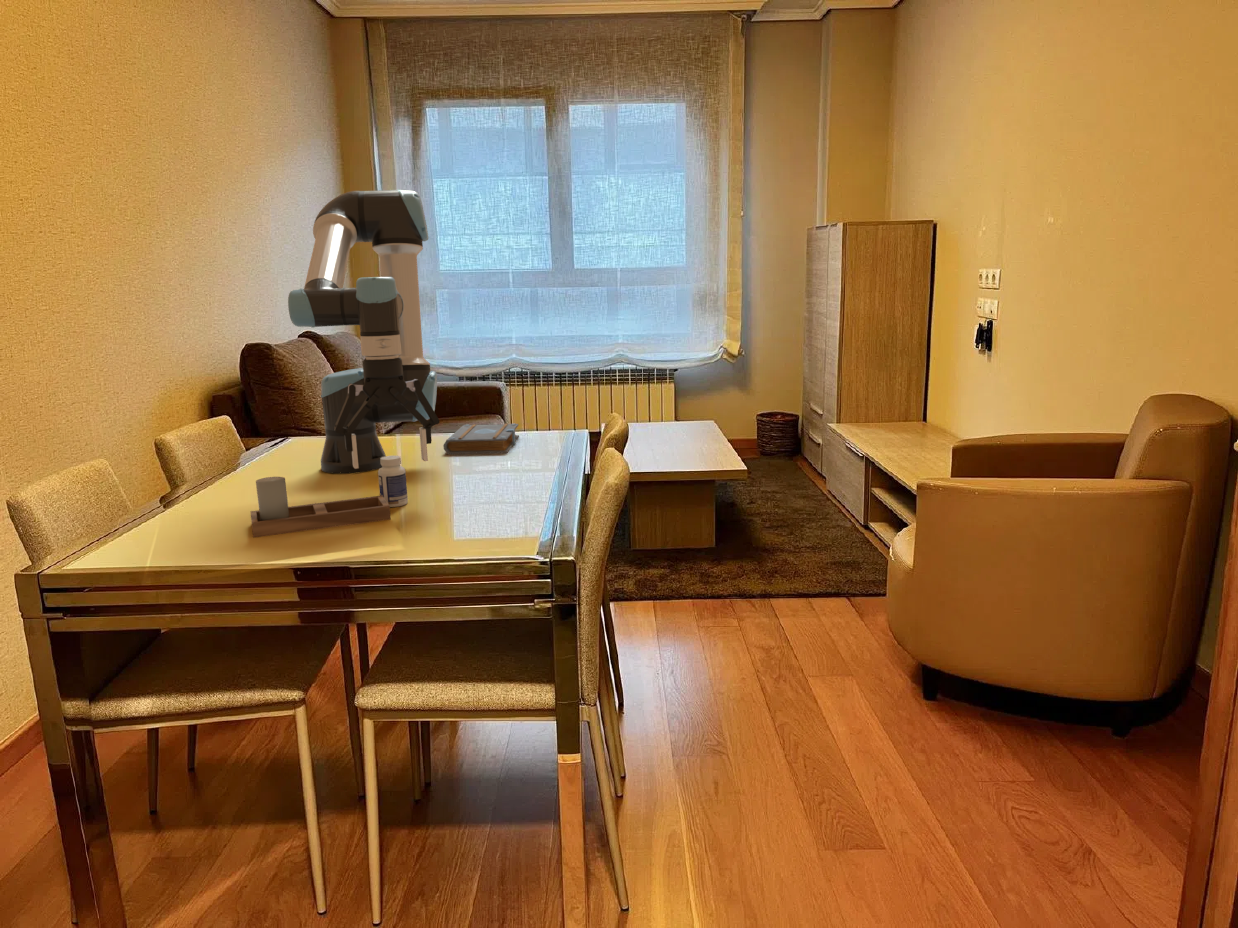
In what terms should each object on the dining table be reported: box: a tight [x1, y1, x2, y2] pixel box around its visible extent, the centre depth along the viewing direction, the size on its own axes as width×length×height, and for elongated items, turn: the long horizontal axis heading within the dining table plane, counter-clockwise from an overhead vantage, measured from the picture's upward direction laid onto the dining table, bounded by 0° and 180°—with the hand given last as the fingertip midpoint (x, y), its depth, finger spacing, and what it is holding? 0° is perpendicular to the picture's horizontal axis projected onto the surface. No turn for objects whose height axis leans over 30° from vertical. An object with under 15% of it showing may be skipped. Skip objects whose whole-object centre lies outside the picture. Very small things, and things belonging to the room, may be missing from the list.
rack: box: [250, 495, 392, 538], centre depth 171 cm, size 9×24×4 cm, turn 113°
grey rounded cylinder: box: [255, 476, 289, 521], centre depth 167 cm, size 5×5×9 cm
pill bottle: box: [377, 455, 409, 508], centre depth 185 cm, size 5×5×10 cm
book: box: [443, 422, 520, 455], centre depth 242 cm, size 21×16×5 cm
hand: (390, 463), depth 183 cm, fingers open, 13 cm apart
